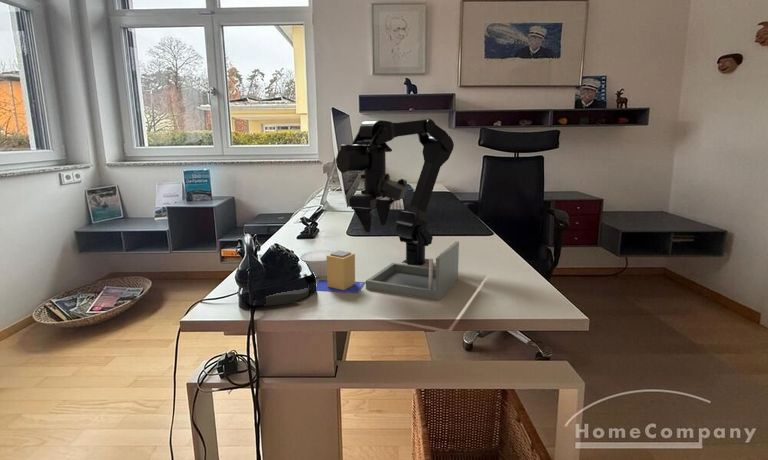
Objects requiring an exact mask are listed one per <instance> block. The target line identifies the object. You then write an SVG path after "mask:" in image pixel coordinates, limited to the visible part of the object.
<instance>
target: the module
mask: <svg viewBox="0 0 768 460" xmlns="http://www.w3.org/2000/svg"><path fill="white" fill-rule="evenodd" d="M326 280H327V287H332V288H336V289H341V290H345V289H347V288H349V287H351V286H352V285H354V284H355V282H356V254H355V253H353V252H350V251H345V250H336V252H334V253H332V254H330V255H327V276H326Z"/></svg>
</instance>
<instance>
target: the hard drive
mask: <svg viewBox="0 0 768 460" xmlns="http://www.w3.org/2000/svg"><path fill="white" fill-rule="evenodd" d="M315 284H317V287H316V291H315V292H327V293H329V292H330V293H344V294H345V293H346V294H359V293H360V291H361V290H362V288H364V285H366V281H355V284H354V285H352V286H351V287H349V288H347V289H345V290H341V289H336V288H332V287H327V279H319V280H318V281H317V282H316V283H315Z"/></svg>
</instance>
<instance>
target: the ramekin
mask: <svg viewBox="0 0 768 460" xmlns="http://www.w3.org/2000/svg"><path fill="white" fill-rule="evenodd" d="M336 251H337V250H336ZM336 251H335V250H330V249H329V250H328V249H323V250H322V249H321V250H320V249H319V250H311V251H307V252H304V253H302V254H300V256H299V258H300V259H301V260H302V261H304V262H306V263H307V264H308V265H309V267H310V268H311V269H312V271H313V272H314V274H315V276H316V278H315V279H321V278H322V277H327V255H330V254H332V253H334V252H336ZM303 259H304V260H303Z"/></svg>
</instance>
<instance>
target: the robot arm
mask: <svg viewBox="0 0 768 460" xmlns="http://www.w3.org/2000/svg"><path fill="white" fill-rule="evenodd" d="M412 135H418V142H419V143H420V144H421V145H422V146H423V149H422V155H423V157H422V158H423V160H424V161H423V165H422V169H421V171H420V173H419V174H420V175H419V177H418V179H417V180H418V181H417V183H416V187H415V189H414V192H413V195H412V198H411V201H410V204H409V207H408V208H407V209H406V210H400V211H399V214H398V218H397V220H396V222H395V224H396V226H395V231H396V233H397V235H398V239H399V241H400V242H401V243H402V242H403V243H405V259H404V260H403V261H402V262H401V264H406V265H414V266H423V265H424V264H426V263H427V262H428V263H429V259H430V258H426V247H428V246H430V245H431V244H432V242H433V235H432V234H431V233H430V232H429V231H428V229H427V227H428V220H427V219H428V218H427V213H426V212H427V209H428V206H429V203H430V199H431V196H432V194H433V190H434V187H435V184H436V182H437V179H438V176H439V173H440V169H441V167H442V166H443V165H444V164H445V163H447V161H448V160H449V158H450V157H451V154H452V153H453V151H454V146H455V145H454V144H455V143H454V141H453V139H452V137H451V135H449V134H448V133H447V131H446V130H444V129H443V128H441V127H440V126H439V125H437V124H436V123H435V121H434V120H433V119H432V118H417V119H412V120H405V121H395V122H393V121H390V120H383V119H381V120H380V119H379V120H365V121H362V122H361V124H360V126H359V129H358V132H357V134H356V136H355V137H354V139H353V141H352V143H351V144H341V145H340V150H339V151H338V152H337V155H336V158H335V163H336V167H337V169H338V171H339V172H340V173H342V174H344V173H345V174H346V173H357V172H363V174H360V179H363V189H362V190H361V193H356V194H353V195H351V196H349V198H348V200H347V201H348V207H349V208H350V207H351V210H353V211H354V213H355V214H356V217H357V219H358V220H359V221H360V222H359V223H361V226H362V227H363V230H364V231H365V233H368V234H369V233H370V232H371V227H372V219H373V218H372V216H373V213H374V211H375V210H376V212H377V215H378V219H379V222H380V225H381V226H386V223H387V220H388V216H389V212H390V209H391V206H393V204H394V203H395V202H398V201H400V200H405V196H406V193H408V192H409V186H408V181H407V180H405V179H403V178H400V179H399V180H397V181H396V180H391V178H390V177H391V176H390V174H389V173H386V171H387V170H386V169H387V168H386V166H387V165H386V160H387V159H386V153H391V152H392V151H393V149H392V148H391V147H390V146H389V144H387V143H388V142H390V141H392V140H394V139H395V138H397V137H404V136H412Z"/></svg>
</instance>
